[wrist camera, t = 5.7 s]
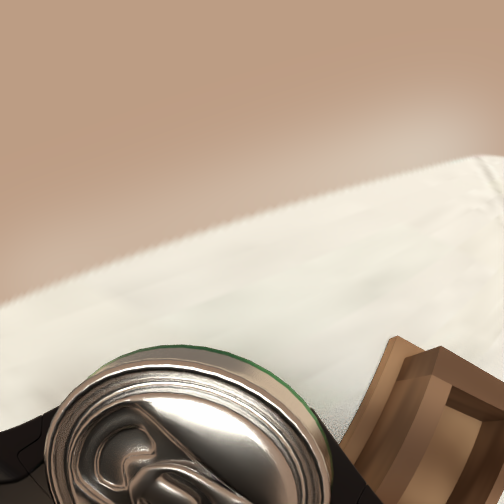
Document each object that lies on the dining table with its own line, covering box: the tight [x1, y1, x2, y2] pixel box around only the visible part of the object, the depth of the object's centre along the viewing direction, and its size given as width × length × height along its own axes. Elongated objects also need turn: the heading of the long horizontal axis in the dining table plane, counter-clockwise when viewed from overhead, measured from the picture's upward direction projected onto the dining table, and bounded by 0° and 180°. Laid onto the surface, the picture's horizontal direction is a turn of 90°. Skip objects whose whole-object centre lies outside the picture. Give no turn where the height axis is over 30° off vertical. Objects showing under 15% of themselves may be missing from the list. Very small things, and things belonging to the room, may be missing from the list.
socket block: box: [339, 336, 504, 504], centre depth 10 cm, size 12×12×4 cm
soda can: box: [44, 345, 334, 504], centre depth 8 cm, size 5×5×12 cm
